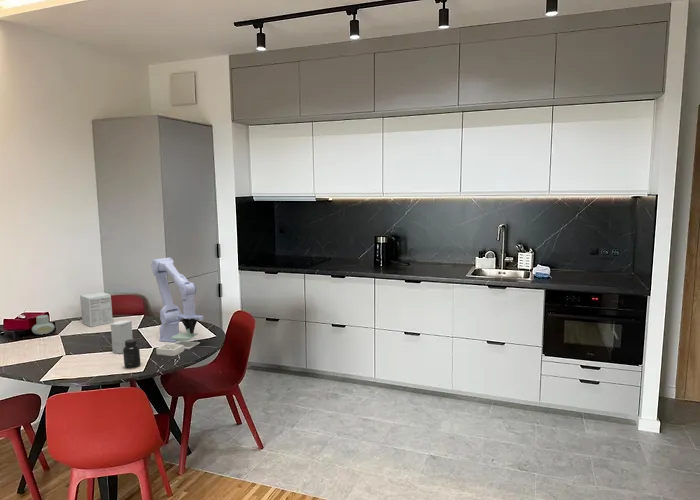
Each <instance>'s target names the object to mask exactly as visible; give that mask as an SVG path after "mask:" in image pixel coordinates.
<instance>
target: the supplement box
mask: <svg viewBox="0 0 700 500" xmlns="http://www.w3.org/2000/svg"><path fill="white" fill-rule="evenodd" d="M79 296H80V297H79V300H80V310H81V311H80V312H81V322H82V324H83V325H85V326H88V327H89V328H92V327H97V326H102V325H103V326H104V325H107V324H113V323H114V322H113V308H112V305H113V304H112V295H111V294H110V293H106V292H102V291H99V292H94V293H85V294H81V295H79Z"/></svg>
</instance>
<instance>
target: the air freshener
mask: <svg viewBox="0 0 700 500" xmlns="http://www.w3.org/2000/svg"><path fill="white" fill-rule="evenodd" d="M35 318H36V320H35V321H36V324H34V325H33V326H32V327H31V331H32V333H33V334H34V335H40V336H41V335H42V336H44V335H43V334H45V335H47V334H48V335H49V334H51V333H52V332H53V331H55V328H56V326H55V324H54V323H52V322H50V318H49V315H48V314H42V315H38V316H36V317H35Z"/></svg>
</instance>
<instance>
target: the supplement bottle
mask: <svg viewBox="0 0 700 500" xmlns="http://www.w3.org/2000/svg"><path fill="white" fill-rule="evenodd" d="M122 355H123V365H124V368H126V369H135V368H138V367H140V365H141V352H140V346H139V345H138V343H137V339H134V338H133V339H130V340H126V341H125V347H124V348H123V354H122Z"/></svg>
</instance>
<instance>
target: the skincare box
mask: <svg viewBox="0 0 700 500" xmlns="http://www.w3.org/2000/svg"><path fill="white" fill-rule="evenodd" d="M110 332H111V348H112V349H111V350H112V353H113V354H119V355H123V348H124V347H125V341H126V340H130V339H134V337H133V324H132V320H123V319H122V320H118V321H116V322H113V323H110Z"/></svg>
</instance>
